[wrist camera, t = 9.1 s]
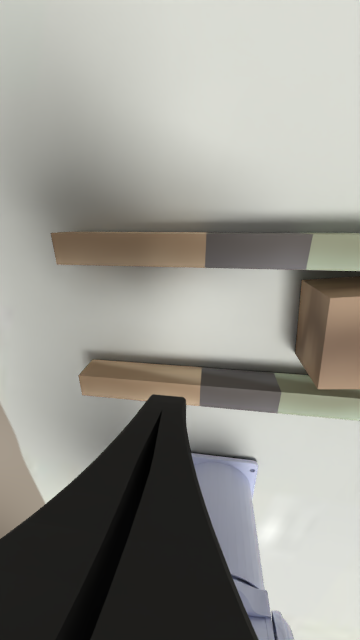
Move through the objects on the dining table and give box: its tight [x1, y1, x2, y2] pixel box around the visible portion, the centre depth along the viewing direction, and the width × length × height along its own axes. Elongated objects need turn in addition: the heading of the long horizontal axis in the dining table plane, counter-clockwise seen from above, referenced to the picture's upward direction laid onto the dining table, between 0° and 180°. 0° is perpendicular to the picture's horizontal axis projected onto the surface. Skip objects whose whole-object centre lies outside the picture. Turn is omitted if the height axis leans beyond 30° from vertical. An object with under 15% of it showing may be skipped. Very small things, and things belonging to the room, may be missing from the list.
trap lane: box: [51, 232, 360, 421], centre depth 17 cm, size 13×31×3 cm, turn 90°
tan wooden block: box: [295, 276, 360, 389], centre depth 15 cm, size 6×6×4 cm
